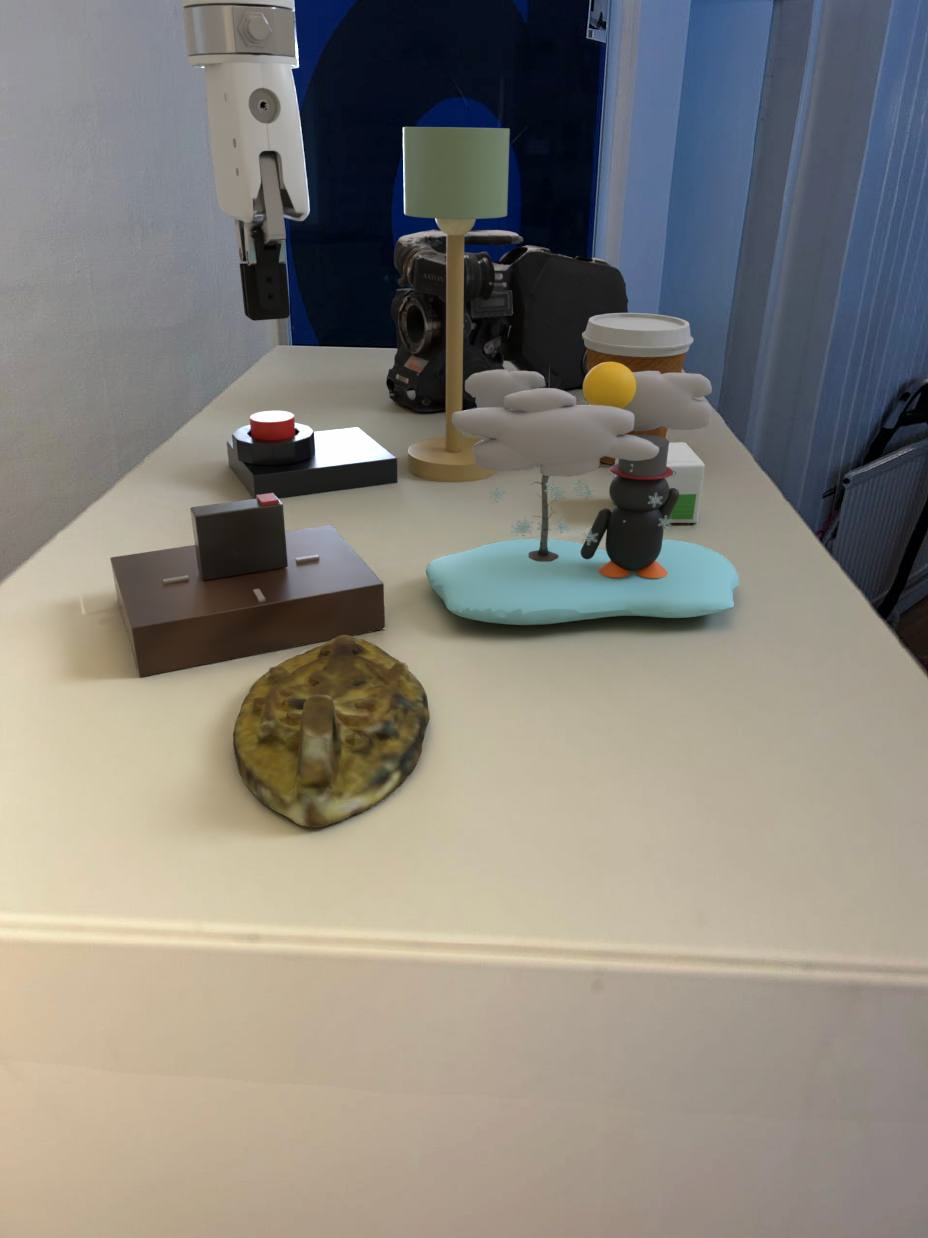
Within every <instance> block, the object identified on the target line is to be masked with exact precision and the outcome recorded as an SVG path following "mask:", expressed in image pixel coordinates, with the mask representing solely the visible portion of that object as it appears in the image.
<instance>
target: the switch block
mask: <svg viewBox="0 0 928 1238" xmlns="http://www.w3.org/2000/svg"><path fill="white" fill-rule="evenodd" d="M295 434H296V436H294V437H291V438H287V439H279V440H259V439H255V438H251V427H250V424H248V425H245V426H241V427H238V428H237V429H236V430H235V431H233V432H232V434H231V440H228V441H226V450H227V459H228V466H229V468H230V469H231V471H233V473H234V474H235V475H236V477H237V478H238V479H239V481H240V482H241V483H242V485H243V486H244V487H245V489H246V490H247V492H248V493H249V494H250V496H251V497H252V499H257V496H256V495H261V494H269V493H274V495H275V496H276V497H277V498H278V499H279V500H280V499H286V498H287V499H288V498H295V497H302V496H310V495H317V494H324V493H325V494H326V493H332V492H339V491H346V490H347V491H348V490H353V489H361V488H370V487H376V486H383V485H392V484H397V483H398V458H397V457H396V456H395V455H393V454H392V453H391V452H390V451H389V450H387V449H386V448H384V446H382V445H381V444H380V443H378V442H377V441H376V440H375V439H373V438H372V437H371V435H369V434H367V433H366V432H365V431H364V430H362V429H361V428H360V427H358V426H356V427H346V428H337V429H329V430H319V431H315V430H314V429H312V428H311V427H310V425H307V424H301V423H297V422H295Z"/></svg>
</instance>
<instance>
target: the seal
mask: <svg viewBox="0 0 928 1238" xmlns="http://www.w3.org/2000/svg"><path fill="white" fill-rule="evenodd" d="M430 718H431V717H430V711H429V701H428V695H427V692H426V690H425V688H424V686H423V684H422V683H421V681H419V679H418V678H417V677H416V675H415V674H414V673H412V672H411V671H410V670H409V666H408V665H407V664H406V663H405V662H402V661H400V660H398V659H397V658H395V657H393V656H391V655H390V654H389V653H388V652H386V651H384V650H383V649H382V648H380V647H379V646H378V645H376V644H375V643H373V642H370V641H367V640H366V639H362V638H359V637H356V636H355V637H354V636H353V635H351V636H349V635H341V636H338V637H336V638H334V639H331V640H327V642H325V643H323V644H321V645H318V646H316V647H314V648H311V649H309V650H307V651H305V652H304V653H301V654H300V653H299V654H297V655H296V654H295V656H293V657H291V658H288V659H285V660H284V661H282V662H280V663H278V665H276V666H272V667H270V668H269V669H268V671H267V672H266V673H264V674H263V675H262V676H260V677H259V678H258V679H257V680H256V681H254V683H253V684H252V685H251V686H250V688H249V690H248V693H247V694H246V696H245V697H244V698H243V701H242V703H241V705H240V709H239V713H238V715H237V718H236V719H235V721H234V722H235V723H234V727H233V731H232V745H233V747H232V748H233V753H234V757H235V761H236V765H237V767H238V771H239V775H240V777H241V780H242V781H243V783H244V784H245V785H246V786H247V788H248V789H249V790H250V791H251V792H252V793H254V794H255V796H256V798H257V799H258V800H260V801H261V802H262V803H263V804H264V805H265V806H266V807H267V808H269V809H271V810H273V811H274V812H276V813H277V814H280V815H282V816H283V817H286V818H287V819H289V820H291V821H292V822H294V823H295V824H297V825H299V826H301V827H308V828H322V827H326V826H329V825H332V824H337V823H340V822H341V821H344V820H346V819H348V818H350V817H351V816H353V815H356V814H359V813H363V812H365V811H366V810H368V809H370V808H372V807H374V806H376V805H377V804H378V803H380V802H381V801H384V800H385V799H386V798H387V797H389V796H390V795H391V794H392V793H393V792H394V791H396V789H398V788H399V787H401V786H402V785H403V783H404V782H405V781H407V778H408V777H409V776H410V775H411V774H412V772H413V771H414V770H415V768H416V766H417V765H418V762H419V760H420V757H421V755H422V751H423V742H424V739H425V735H426V730H427V726H428V725H429V722H430ZM410 773H411V774H410ZM409 774H410V775H409ZM408 775H409V776H408ZM407 776H408V777H407Z"/></svg>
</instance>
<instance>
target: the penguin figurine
mask: <svg viewBox="0 0 928 1238" xmlns="http://www.w3.org/2000/svg"><path fill="white" fill-rule="evenodd" d="M544 371H545V370H544ZM549 372H550V369H549ZM545 373H546V372H545ZM660 374H661V373H660V372H659V371H643V372H631V371H630V369H629V368H627V367H626V366H624V365H623V364H620V363H617V362H604V363H601V364H598V365H596V366H595V367H593V368H592V369H591V370H590V371H589V372H588V373H587V375H586V377H585V379H584V382H583V386H582V392H583V396H584V398H585V400H586V402H587V403H588V404H577V397H576V396H575V395H574V394H571V393H570V392H567V391H565V390H564V389H557V387H556V388H555V389H554V388H550V384H549V381H547V380H544V377H543V376H542V375H541V374H539V373H537V372H534V371H518V370H511V371H509V370H508V369H505V370H490V371H483V372H480V373H475V374H473V375H471V376H470V377H469V378H468V379H467V380H465V391H466V392H468V393H470V394H471V396H472V397H473V398H474V397H476V404H477V406H476V408H470V409H466V410H462V411H457V412H454V413H453V414H452V423H453V425H454V427H455V428H456V429H457V430H459V431H462V433H464V434H468V435H473V436H478V437H483V438H484V439H481V440H482V441H480V442H477V443H476V444H474V445H473V447H472V454H473V455H474V456H475V464H476V466H478V467H480V468H483V469H487V470H493V471H498V472H520V471H528V470H533V469H535V468H538V467H539V472H540V474H541V482H539V481H538V480H537V481H536V482H533V484H540V485H541V516H540V515H538V516H537V515H532V514H531V516H532V517H531V519H533V518H541V522H540V521H539V522H538V525H539V527H537V529H536V531H540V538H524V537H525V536H526V534H527V533H528V534H529V535H530V534H531V535H532V534H533V533H532V531H533V530H534V529H533V526H532V524H533V523H534V520H529V521H528V517H527V516H524V517H523V520H521V519H519V520H518V521H516V524H515V525H514V524H512V525H511V524H510V527H511V528H512V530H510V534H512V533H514V535H515V537H518V536H519V534H520V533H521V536H522V538H517V539H515V538H514V539H508V540H507V539H506V540H502V541H501V540H500V541H496V542H492V543H487V544H484V545H481V546H477V547H474V548H471V549H469V550H465V551H461V552H457V553H456V552H455V553H452V554H447V555H444V556H440V557H437V558H436V559H434V560H431V562H430V563H429V564H428V565H427V566H426V567H425V570H424V572H425V576H426V578H427V581H428V584H429V586H430V588H431V589H432V590H433V591H434V592H435V593H436V595H438V596H439V598H440V599H441V600H443V603H444V605H445V607H446V609H447V610H448V611H449V612H450V613H452V614H454V615H456V616H458V617H461V618H464V619H469V620H473V621H479V622H483V623H492V624H501V625H510V626H511V625H512V626H536V625H537V626H538V625H540V626H541V625H552V624H553V625H554V624H561V623H570V622H577V621H584V620H585V621H586V620H593V619H594V620H595V619H601V618H611V617H625V616H626V617H628V616H629V617H633V616H635V617H637V616H638V617H651V618H664V619H665V618H666V619H681V618H682V619H684V618H695V617H702V616H709V615H712V614H717V613H721V612H726V611H728V610H730V609H732V608H734V607H735V601H734V592H735V590H737V588H738V587H739V586H740V584H741V583H740V576H739V574H738V571H737V570H736V568H735V566H734V565H733V563H732V562H731V561H730V560H729V559H727V558H726V557H725V556H723V555H722V554H721V553H720V552H717V551H715V550H713V549H711V548H708V547H706V546H703V545H700V544H697V543H693V542H690V541H684V540H678V539H667V538H664V531H665V530H666V527H667V526H669V527H672V524H670V523H667V522H668V521H667V520H669V519H668V518H669V516H670V514H671V512H672V510H673V509H674V507H675V505H676V503H677V501H678V499H679V492H678V490H677V489H675V488H670V489H669V485H668V483H667V481H666V479H665V478H667V477H669V476H671V475H672V474H673V470H672V469H670V468H669V467H666V464H667V456H668V447H669V443H670V441H669V440H668V439H667V438H666V437H665V438H663V437H659V436H655V435H648V434H632V435H626V433H628V432H631V431H642V430H651V429H655V428H658V427H660V426H662V427H666V428H668V429H669V430H674V431H675V430H676V431H679V430H680V431H691V430H701V429H703V428H706V427H707V426H708V425H709V424H710V422H711V420H712V419H711V418H712V408H711V406H710V404H709V403H707V402H706V401H704V400H702V399H697V398H702V397H704V396H710V395H711V394H712V391H713V387H712V385H711V381H710V380H709V379H708V377H706V376H704V375H702V374H701V373H689V372H681V373H665V374H661V375H660ZM549 378H550V374H549ZM561 379H562V378H561ZM545 381H547V382H548V384H549V388H547V387H546V382H545ZM559 383H560V382H559ZM558 385H559V384H558ZM558 385H557V386H558ZM544 386H545V387H546V388H545V387H544ZM589 404H590V405H589ZM603 456H607V457H611V458H616V459H619V462H618V464H615V465H611V466H610V467H609V471H610V473H611V474H613V475H614V474H615V475H616V476H615V477H614V476H613V479H611V482H610V484H609V486H608V487H609V488H608V494H609V498H610V500H611V501H612V503H613V504H614V505H615V507H614V508H613V509H612V510H610V509H609V508H605V507H604V508H602V509H600V510H599V512H598V513H597V515H596V517H595V520H594V521H593V523H592V526H591V528H590V529H589V530H588V532H587V533H586V532H582V536H584V537H583V539H581V542H576V541H571V540H565V539H557V538H556V539H555V538H548V537H549V536H548V534H549V532H550V531H552V529H551V526H552V524H553V522H549V519H550V518H551V516H552V515H553V514H554V513H555V514H556V512H555V511H554V509H553V508H552V507H553V506H551V510H550V512H549V503H548V492H549V496H550V497H549V498H550V499H552V498H554V499H553V500H552V501H551V503H554V502H559V499H560V498H561V500H566V496H564V494H565V493H566V492H567V490H563V491H561V484H562V483H557V484H555V480H554V479H552V480H550V481H551V482H550V483H548V481H549V478H550V477H562V478H563V477H567V478H568V477H569V478H570V477H578V476H582V475H586V474H588V473H590V472H593V471H595V470H597V469H598V468H599V467H600V462H601V461H600V458H601V457H603ZM570 484H571V487H572V488H573V489H572V490H570V493H572V494H576V497H581V498H583V497H584V500H588V499H589V497H591V498H594V495H593V493H594V492H595V489H592V490H591V489H590V487H589V484H585V485H583V484H582V480H581V479H579V480H578V481H577V484H575V483H570ZM529 485H530V486H531V484H529ZM489 491H490V494H491V496H490V497H489V499H490V500H492V499H493V500H494V502H495V504H498V502H499V499H501V500H502V501H504V500H505V497H504V496H503V495H504V494H505V492H506V491H504V490H502V491H500V488H499V487H498V486H497V487H496V488H495V492H494V491H492V490H489ZM570 493H569V494H570ZM581 493H582V494H581ZM579 494H580V495H579ZM537 496H538V497H540V495H539V494H537ZM551 512H552V513H551ZM671 521H672V520H671ZM669 522H670V520H669ZM555 525H556V526H557V527H556V528H555V529H554V530H555V531H559V532H560V534H561V535H562V534H564V531H565V530H566V531H567V532H568V531H570V529H569V528H568V526H571V522H565V519H561V522H559V521H557V522H556V521H555ZM604 535H605V549H601V548H599V546H600V544H601V542H602V540H603V538H604ZM582 542H583V543H582Z"/></svg>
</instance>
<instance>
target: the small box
mask: <svg viewBox="0 0 928 1238" xmlns="http://www.w3.org/2000/svg"><path fill="white" fill-rule="evenodd" d="M618 462H619V459H615V464H618ZM666 467H669V468H670V469H672V470H673V474H672V475H671V476H669V477H667V478H665V479H666V481H667V483H668V485H669V489H670V488H675V489H677V490H678V492H679V499H678V501H677V503H676V505H675V507H674V509H673V510H672V512H671V514H670V516H669V518H668V519H669V520H670V522H669V520H667V521H668V522H667V523H668V524H690V523H695V524H697V523H698V520H699V512H700V506H701V505H700V503H701V496H702V490H703V483H704V475H705V468H706V464H705V463H704V462H703V461H702V460H701V458H700V457H699V456H698V455H697V454H696V453H695V452H694V451H693V450H692V448H691V447H690V446H689V445H688V444H687V442H684V441H683V442H682V441H681V442H680V441H679V442H674V441H673V442H669V447H668V456H667V464H666ZM615 476H616V475H615V474H613V478H614V477H615ZM671 520H672V521H671Z"/></svg>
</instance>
